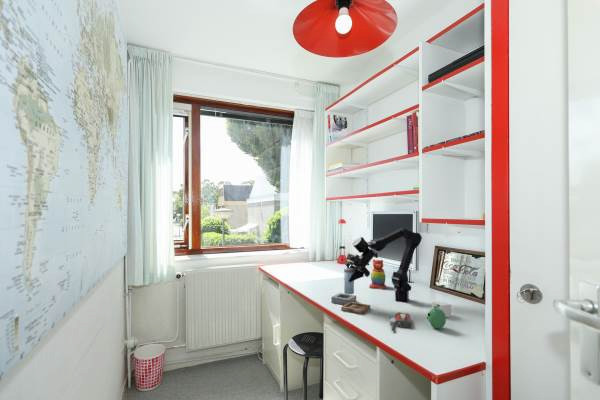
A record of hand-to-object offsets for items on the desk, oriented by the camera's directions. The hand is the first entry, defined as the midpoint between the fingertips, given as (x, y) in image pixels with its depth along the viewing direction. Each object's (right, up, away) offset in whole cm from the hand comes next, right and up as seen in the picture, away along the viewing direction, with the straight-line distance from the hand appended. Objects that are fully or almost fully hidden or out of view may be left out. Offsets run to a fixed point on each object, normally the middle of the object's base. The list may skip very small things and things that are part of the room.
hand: (346, 280), depth 169 cm
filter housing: (0, -14, +8) cm, 16 cm away
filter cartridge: (+1, -7, 0) cm, 7 cm away
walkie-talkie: (+20, -13, -27) cm, 36 cm away
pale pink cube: (+44, -13, -14) cm, 48 cm away
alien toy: (+34, -13, -31) cm, 48 cm away
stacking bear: (+27, -15, +41) cm, 51 cm away
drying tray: (+4, -13, -6) cm, 15 cm away
